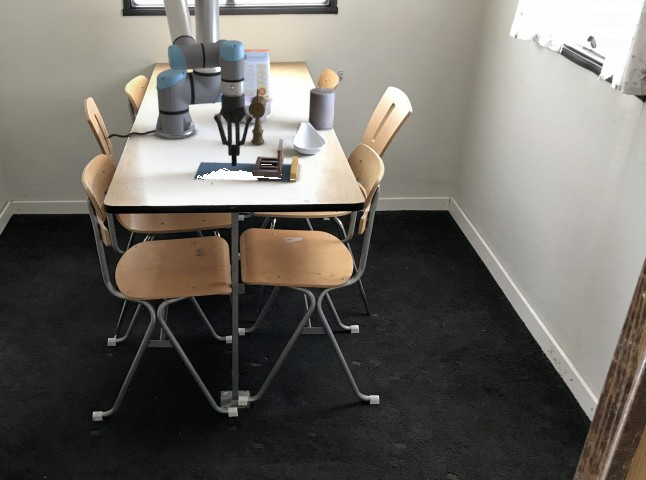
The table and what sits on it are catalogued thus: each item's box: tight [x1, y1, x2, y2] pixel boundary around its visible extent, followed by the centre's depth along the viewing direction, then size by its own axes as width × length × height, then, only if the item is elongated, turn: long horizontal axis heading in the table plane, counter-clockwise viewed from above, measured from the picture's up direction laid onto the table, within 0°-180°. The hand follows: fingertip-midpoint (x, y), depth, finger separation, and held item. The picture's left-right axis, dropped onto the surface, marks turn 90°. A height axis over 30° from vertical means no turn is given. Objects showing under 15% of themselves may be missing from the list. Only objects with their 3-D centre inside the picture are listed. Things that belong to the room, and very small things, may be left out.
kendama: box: [249, 89, 266, 146], centre depth 258 cm, size 6×10×20 cm, turn 175°
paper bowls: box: [241, 96, 272, 124], centre depth 285 cm, size 15×15×8 cm
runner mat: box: [193, 161, 299, 183], centre depth 240 cm, size 34×16×1 cm, turn 84°
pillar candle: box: [308, 86, 336, 131], centre depth 275 cm, size 10×10×15 cm
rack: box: [253, 138, 285, 181], centre depth 236 cm, size 9×14×10 cm, turn 173°
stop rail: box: [289, 156, 300, 183], centre depth 237 cm, size 2×16×3 cm, turn 174°
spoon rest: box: [292, 121, 327, 156], centre depth 258 cm, size 24×12×7 cm, turn 5°
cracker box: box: [244, 48, 271, 100], centre depth 305 cm, size 14×6×21 cm, turn 84°
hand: (234, 164), depth 239 cm, fingers closed
